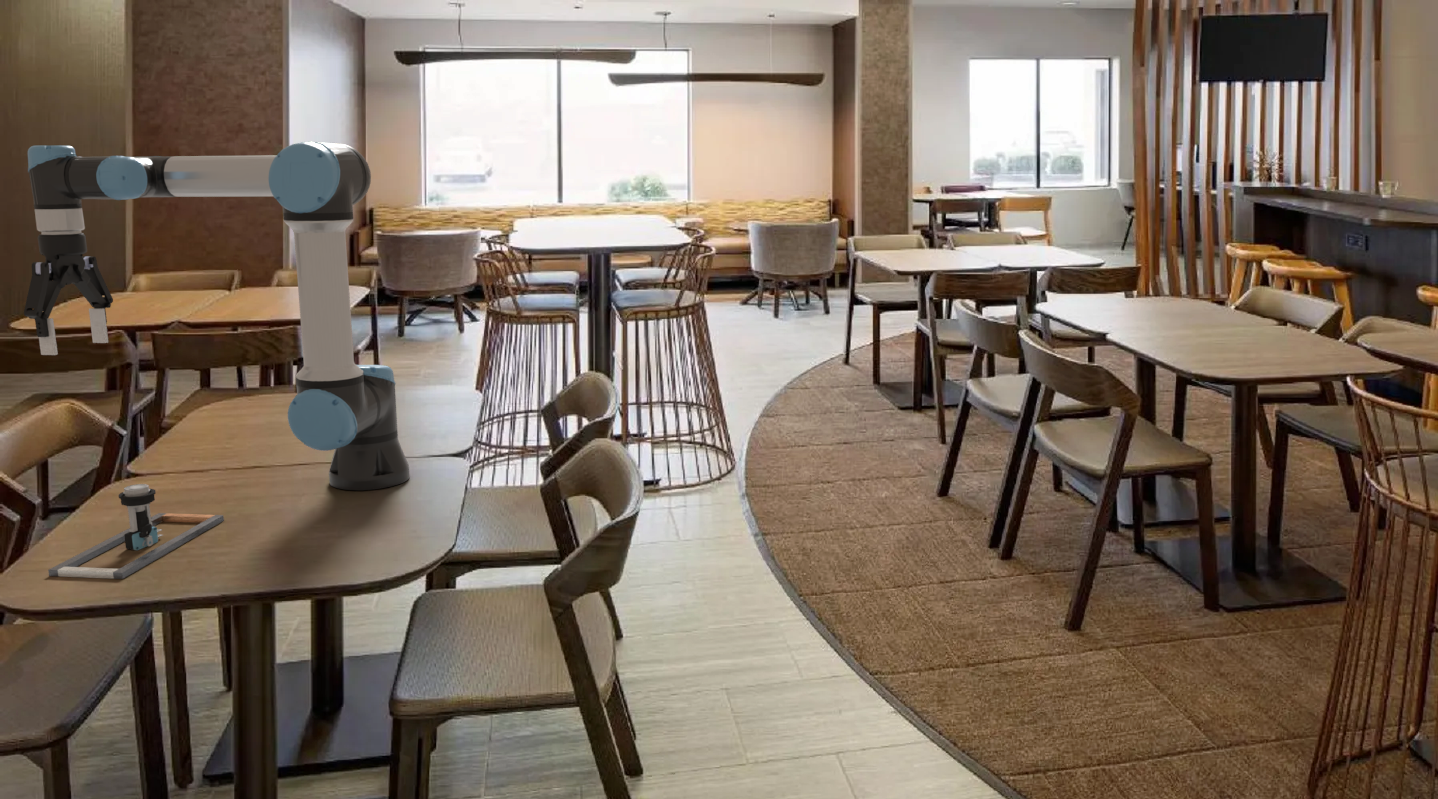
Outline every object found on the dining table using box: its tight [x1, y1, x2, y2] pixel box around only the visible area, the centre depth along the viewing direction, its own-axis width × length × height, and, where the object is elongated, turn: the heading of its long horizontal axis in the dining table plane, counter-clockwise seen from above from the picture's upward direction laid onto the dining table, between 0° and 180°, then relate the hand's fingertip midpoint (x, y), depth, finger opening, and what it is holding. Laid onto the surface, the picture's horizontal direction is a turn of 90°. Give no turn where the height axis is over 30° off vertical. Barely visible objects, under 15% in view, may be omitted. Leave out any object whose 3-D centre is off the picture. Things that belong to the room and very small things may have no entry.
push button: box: [118, 483, 164, 551], centre depth 182 cm, size 7×5×10 cm
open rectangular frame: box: [47, 512, 225, 580], centre depth 182 cm, size 12×28×1 cm, turn 174°
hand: (75, 348), depth 206 cm, fingers open, 13 cm apart
